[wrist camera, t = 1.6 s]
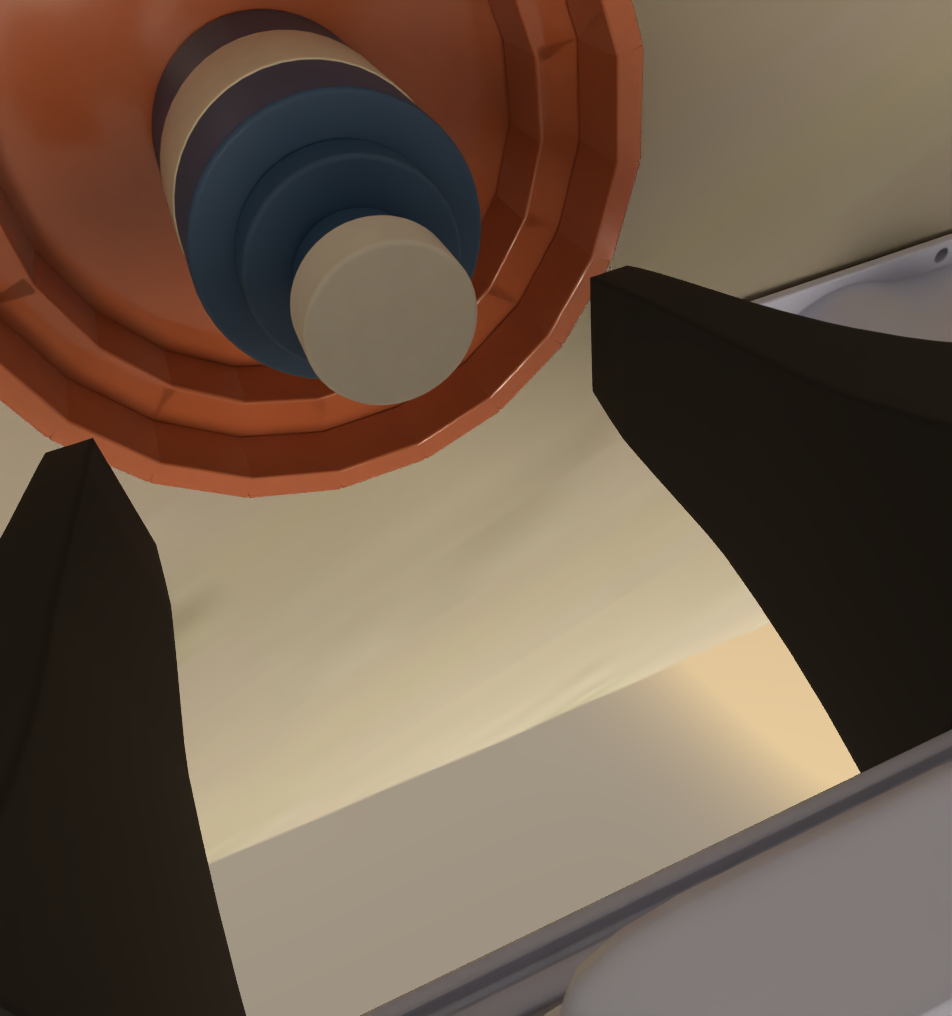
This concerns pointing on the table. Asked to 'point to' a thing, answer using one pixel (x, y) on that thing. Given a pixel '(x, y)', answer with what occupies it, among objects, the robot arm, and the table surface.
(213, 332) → the terracotta bowl
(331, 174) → the bottle
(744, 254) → the table surface
